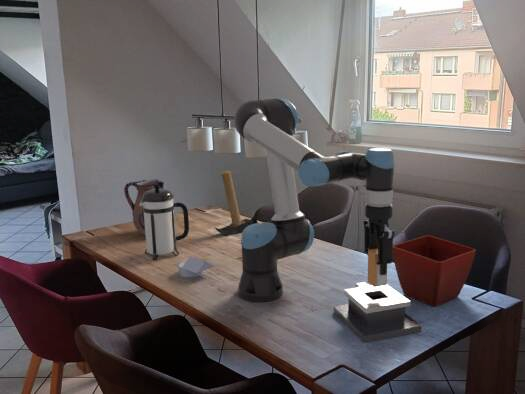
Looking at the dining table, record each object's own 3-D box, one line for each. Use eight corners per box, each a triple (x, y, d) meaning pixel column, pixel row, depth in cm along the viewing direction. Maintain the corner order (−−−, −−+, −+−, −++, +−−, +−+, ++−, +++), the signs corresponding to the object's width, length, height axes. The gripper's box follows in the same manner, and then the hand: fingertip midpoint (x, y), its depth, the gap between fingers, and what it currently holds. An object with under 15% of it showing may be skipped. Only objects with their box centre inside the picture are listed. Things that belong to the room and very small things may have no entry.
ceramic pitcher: (169, 238, 240) (165, 185, 234) (122, 240, 239) (118, 186, 233) (174, 227, 257) (171, 177, 251) (131, 228, 256) (127, 178, 250)
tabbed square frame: (364, 342, 145) (365, 314, 143) (333, 312, 163) (333, 286, 161) (421, 331, 150) (422, 304, 148) (385, 303, 168) (385, 278, 166)
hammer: (221, 241, 241) (207, 180, 231) (216, 238, 245) (202, 178, 235) (258, 226, 250) (246, 166, 240) (253, 224, 254) (241, 165, 244)
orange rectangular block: (374, 286, 151) (375, 253, 149) (367, 281, 155) (368, 249, 153) (386, 285, 152) (387, 252, 150) (379, 280, 156) (380, 247, 154)
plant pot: (474, 297, 171) (477, 248, 167) (437, 314, 160) (440, 262, 156) (425, 280, 186) (427, 234, 182) (388, 294, 176) (390, 246, 172)
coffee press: (171, 262, 209) (166, 189, 202) (136, 259, 215) (130, 187, 207) (190, 248, 225) (186, 180, 218) (157, 245, 230) (152, 178, 223)
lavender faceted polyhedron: (215, 274, 196) (192, 266, 205) (214, 257, 195) (191, 250, 203) (197, 282, 190) (174, 273, 198) (196, 264, 188) (173, 256, 197)
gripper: (407, 209, 141) (404, 290, 147) (375, 196, 157) (374, 269, 163) (382, 212, 139) (380, 294, 144) (353, 198, 155) (352, 273, 160)
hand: (377, 281), depth 153 cm, fingers closed on orange rectangular block, 4 cm apart
